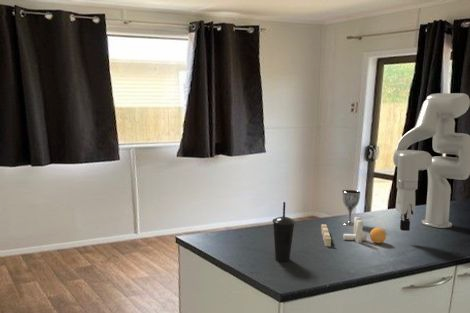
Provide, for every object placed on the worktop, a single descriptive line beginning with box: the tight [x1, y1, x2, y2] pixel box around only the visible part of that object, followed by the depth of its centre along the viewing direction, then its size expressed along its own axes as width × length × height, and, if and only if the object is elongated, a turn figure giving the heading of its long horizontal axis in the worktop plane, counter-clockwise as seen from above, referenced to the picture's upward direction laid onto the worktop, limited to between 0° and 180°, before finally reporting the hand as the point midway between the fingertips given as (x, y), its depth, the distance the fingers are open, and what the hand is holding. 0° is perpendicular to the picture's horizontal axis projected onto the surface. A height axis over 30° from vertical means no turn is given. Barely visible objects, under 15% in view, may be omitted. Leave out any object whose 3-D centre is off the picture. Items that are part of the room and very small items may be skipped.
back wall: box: [320, 223, 332, 247], centre depth 168 cm, size 20×2×3 cm, turn 173°
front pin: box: [342, 233, 367, 242], centre depth 167 cm, size 2×2×8 cm
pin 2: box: [354, 220, 364, 244], centre depth 164 cm, size 2×2×8 cm
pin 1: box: [353, 216, 362, 234], centre depth 169 cm, size 2×2×8 cm
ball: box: [369, 227, 387, 244], centre depth 163 cm, size 6×6×6 cm
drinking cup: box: [272, 201, 296, 263], centre depth 143 cm, size 8×8×20 cm
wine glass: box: [341, 189, 361, 227], centre depth 191 cm, size 8×8×15 cm
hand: (404, 229), depth 165 cm, fingers closed
